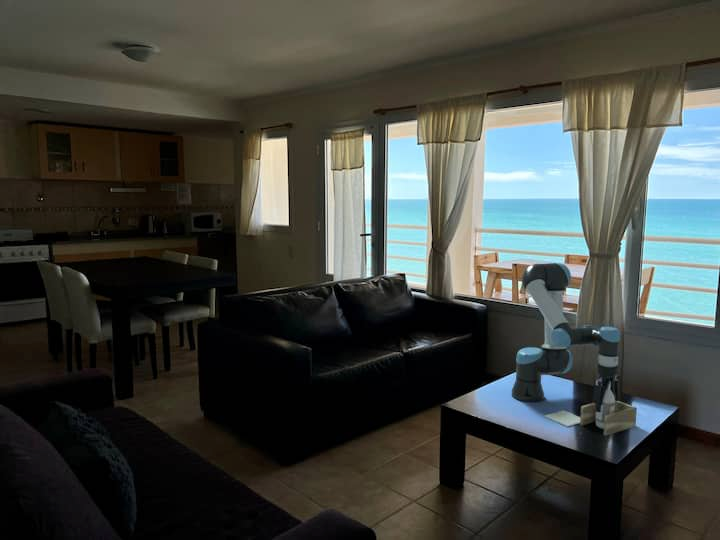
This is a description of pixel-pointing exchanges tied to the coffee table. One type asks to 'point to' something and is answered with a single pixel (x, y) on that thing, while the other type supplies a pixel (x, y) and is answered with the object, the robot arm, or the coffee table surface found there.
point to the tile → (564, 418)
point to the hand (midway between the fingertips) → (604, 416)
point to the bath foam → (607, 406)
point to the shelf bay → (611, 417)
